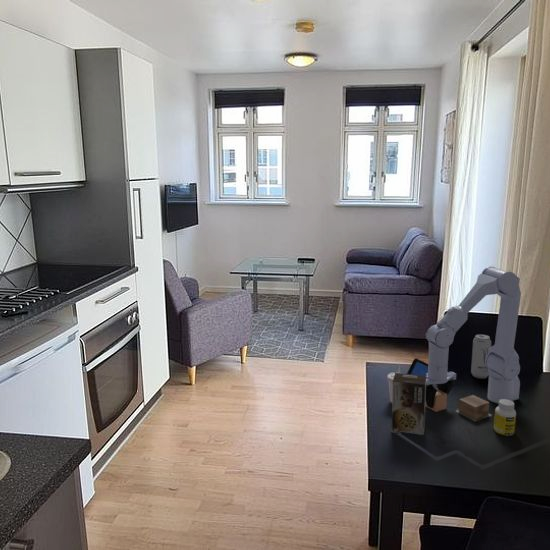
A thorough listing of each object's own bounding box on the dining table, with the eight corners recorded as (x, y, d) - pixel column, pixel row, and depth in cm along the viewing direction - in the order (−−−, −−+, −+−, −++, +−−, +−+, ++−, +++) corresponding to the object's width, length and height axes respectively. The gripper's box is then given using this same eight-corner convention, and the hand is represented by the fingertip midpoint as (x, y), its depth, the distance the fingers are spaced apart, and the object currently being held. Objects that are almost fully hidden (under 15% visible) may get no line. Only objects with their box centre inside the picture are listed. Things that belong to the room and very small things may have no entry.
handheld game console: (390, 382, 178) (391, 362, 176) (414, 376, 182) (415, 357, 181) (414, 396, 167) (415, 375, 165) (439, 389, 171) (440, 369, 170)
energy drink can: (480, 380, 177) (482, 340, 174) (467, 374, 183) (469, 335, 180) (492, 377, 180) (495, 337, 177) (479, 371, 185) (482, 332, 182)
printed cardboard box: (424, 426, 146) (427, 375, 143) (423, 437, 140) (426, 384, 137) (393, 422, 149) (394, 371, 146) (390, 432, 143) (392, 380, 140)
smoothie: (407, 409, 157) (408, 367, 154) (386, 408, 158) (387, 366, 155) (406, 400, 163) (407, 360, 160) (386, 399, 164) (387, 359, 161)
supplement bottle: (505, 440, 138) (508, 408, 136) (489, 432, 143) (491, 400, 141) (518, 435, 140) (521, 403, 138) (501, 427, 145) (504, 396, 143)
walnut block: (472, 406, 156) (473, 394, 155) (488, 414, 151) (489, 402, 150) (458, 411, 153) (459, 399, 152) (474, 419, 148) (475, 407, 147)
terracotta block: (435, 402, 159) (436, 388, 158) (446, 408, 155) (447, 393, 154) (425, 406, 157) (425, 391, 156) (435, 412, 153) (436, 397, 152)
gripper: (445, 355, 160) (442, 394, 163) (410, 364, 153) (409, 405, 156) (462, 362, 154) (459, 403, 157) (427, 372, 147) (425, 414, 150)
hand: (435, 404), depth 156 cm, fingers closed on terracotta block, 4 cm apart
